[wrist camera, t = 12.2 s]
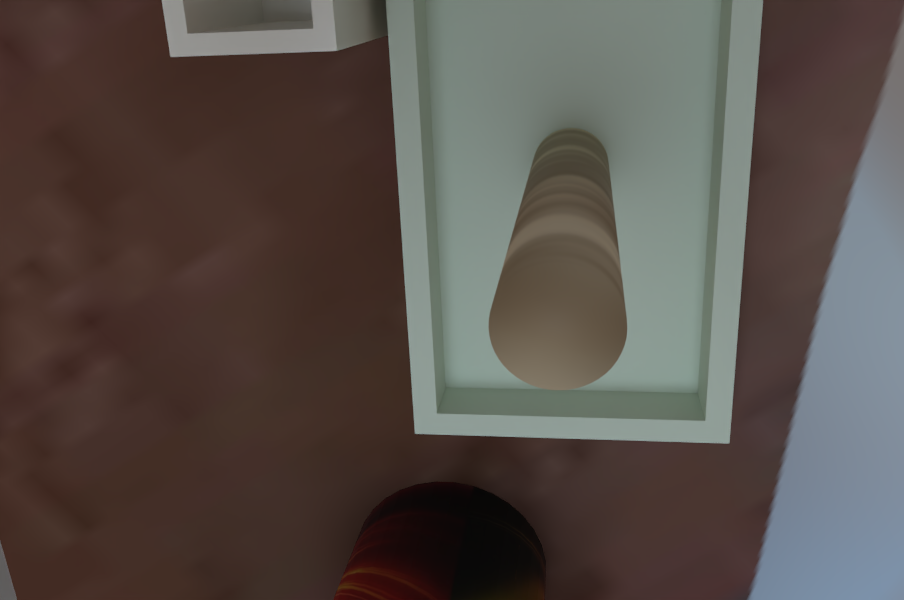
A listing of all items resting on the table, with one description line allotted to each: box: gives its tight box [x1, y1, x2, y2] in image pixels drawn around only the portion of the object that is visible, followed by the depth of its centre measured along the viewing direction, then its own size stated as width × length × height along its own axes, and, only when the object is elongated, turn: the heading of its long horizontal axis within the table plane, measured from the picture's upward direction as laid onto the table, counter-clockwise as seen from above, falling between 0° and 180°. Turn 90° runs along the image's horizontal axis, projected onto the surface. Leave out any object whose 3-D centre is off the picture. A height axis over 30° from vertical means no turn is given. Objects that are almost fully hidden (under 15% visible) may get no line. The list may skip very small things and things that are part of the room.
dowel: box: [488, 128, 627, 390], centre depth 27 cm, size 3×3×17 cm
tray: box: [386, 0, 763, 443], centre depth 34 cm, size 22×13×4 cm, turn 3°
